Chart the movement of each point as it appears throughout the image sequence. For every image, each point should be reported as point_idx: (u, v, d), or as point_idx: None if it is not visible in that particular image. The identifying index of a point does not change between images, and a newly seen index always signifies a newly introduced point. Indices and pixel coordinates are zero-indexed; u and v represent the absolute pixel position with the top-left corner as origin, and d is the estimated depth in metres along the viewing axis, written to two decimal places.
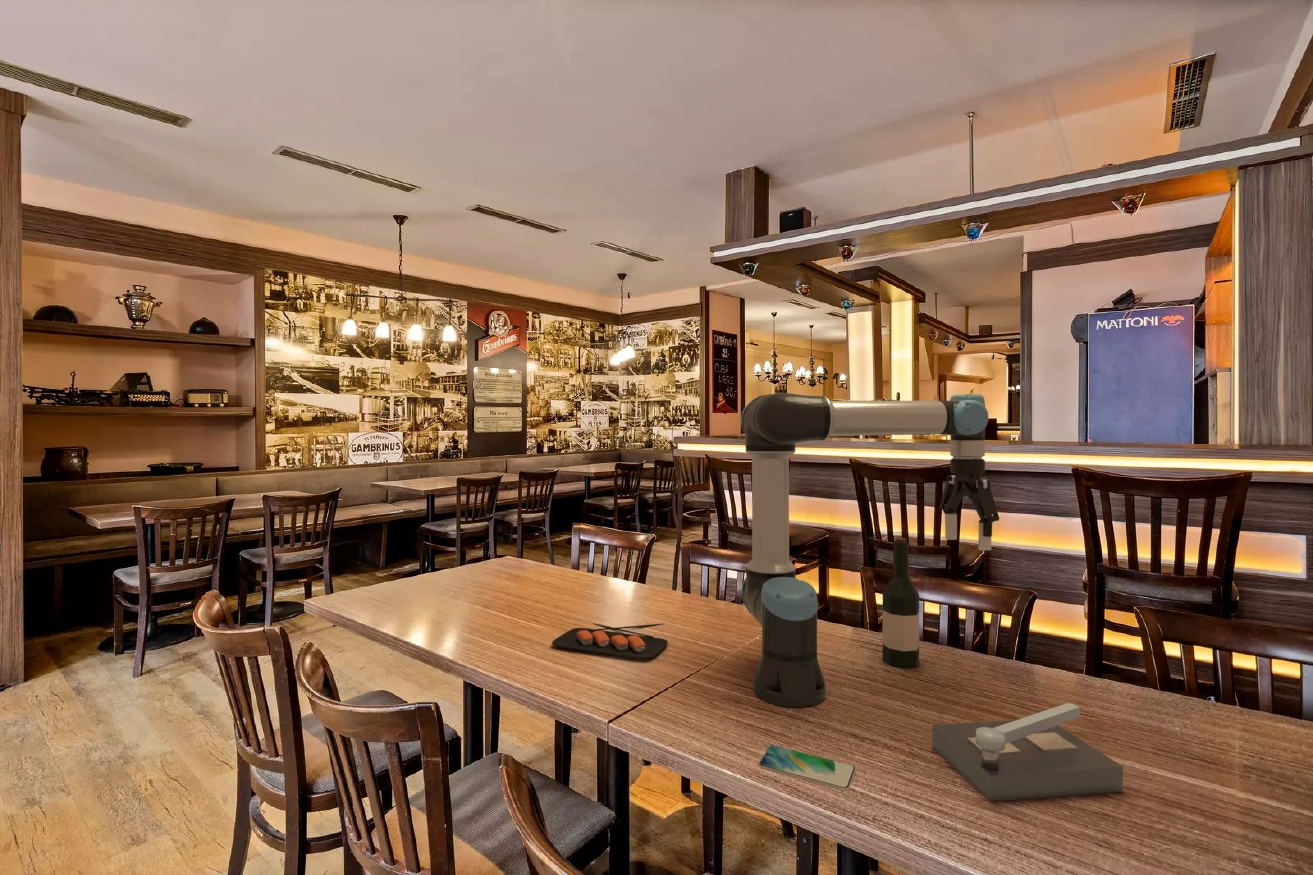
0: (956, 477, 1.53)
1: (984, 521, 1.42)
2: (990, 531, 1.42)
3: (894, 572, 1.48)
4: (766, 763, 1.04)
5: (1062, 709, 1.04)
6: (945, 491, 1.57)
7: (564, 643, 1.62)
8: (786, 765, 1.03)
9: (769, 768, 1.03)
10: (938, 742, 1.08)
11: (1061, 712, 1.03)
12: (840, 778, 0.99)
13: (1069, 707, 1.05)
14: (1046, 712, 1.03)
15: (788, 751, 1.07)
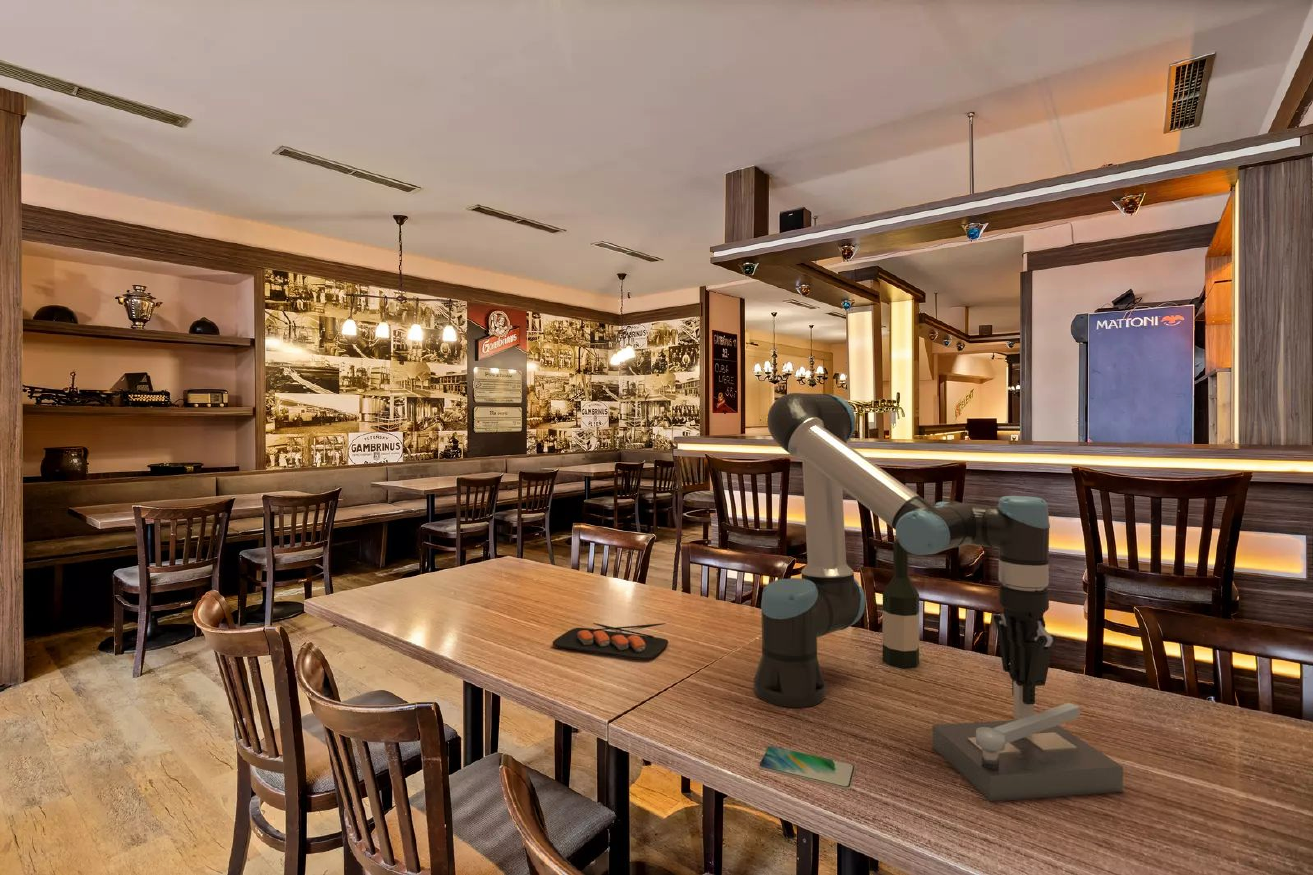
0: (1004, 608, 1.11)
1: (1023, 685, 1.06)
2: (1032, 697, 1.06)
3: (894, 572, 1.48)
4: (766, 764, 1.04)
5: (1062, 709, 1.04)
6: (1000, 639, 1.12)
7: (565, 643, 1.62)
8: (787, 766, 1.03)
9: (769, 769, 1.02)
10: (938, 742, 1.08)
11: (1061, 712, 1.03)
12: (841, 777, 1.00)
13: (1069, 707, 1.05)
14: (1046, 712, 1.03)
15: (787, 752, 1.07)
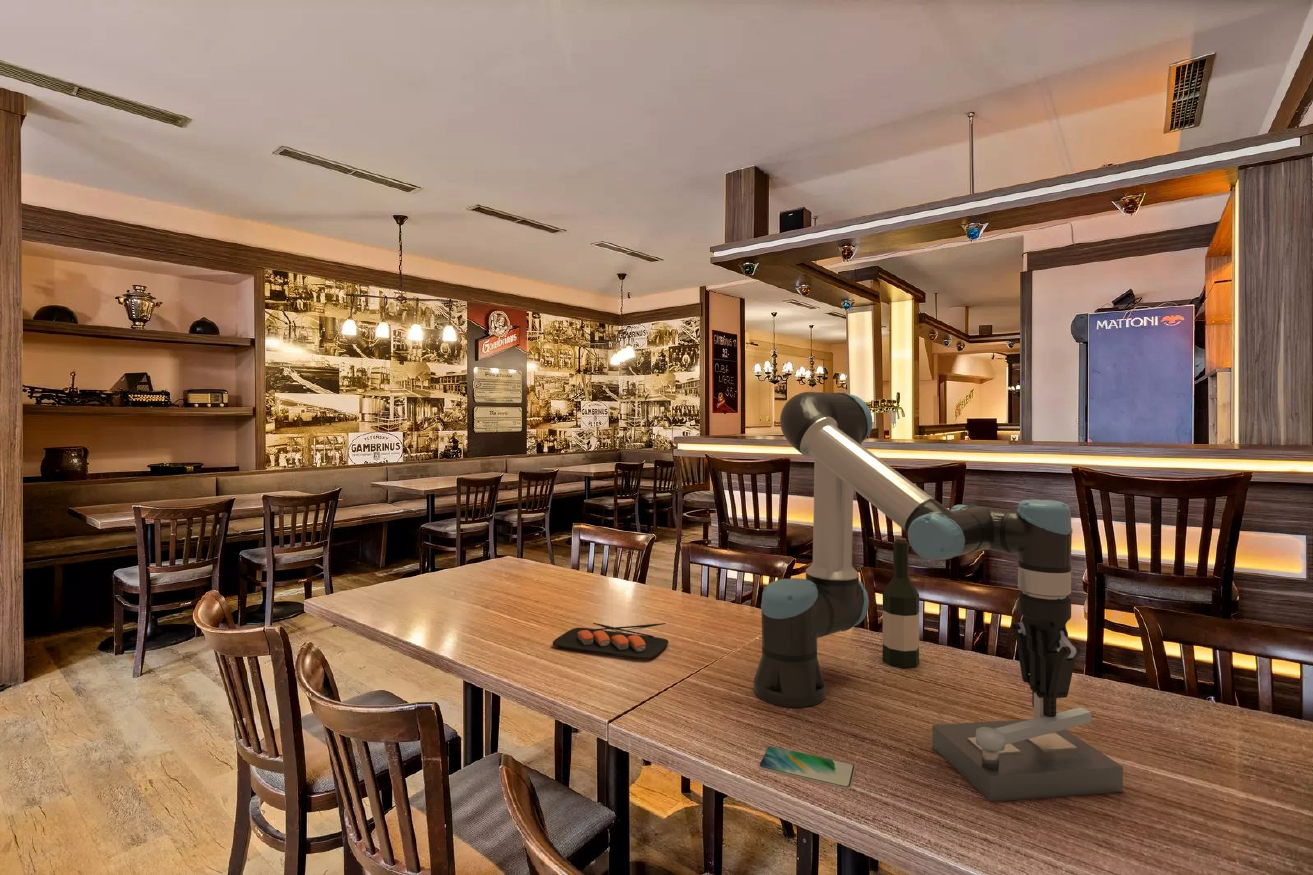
0: (1024, 616, 1.06)
1: (1044, 697, 1.02)
2: (1054, 709, 1.02)
3: (894, 572, 1.48)
4: (766, 764, 1.03)
5: (1072, 713, 1.03)
6: (1019, 649, 1.07)
7: (565, 643, 1.62)
8: (787, 766, 1.03)
9: (769, 769, 1.02)
10: (938, 742, 1.08)
11: (1070, 716, 1.02)
12: (841, 777, 1.00)
13: (1080, 712, 1.03)
14: None
15: (787, 752, 1.07)
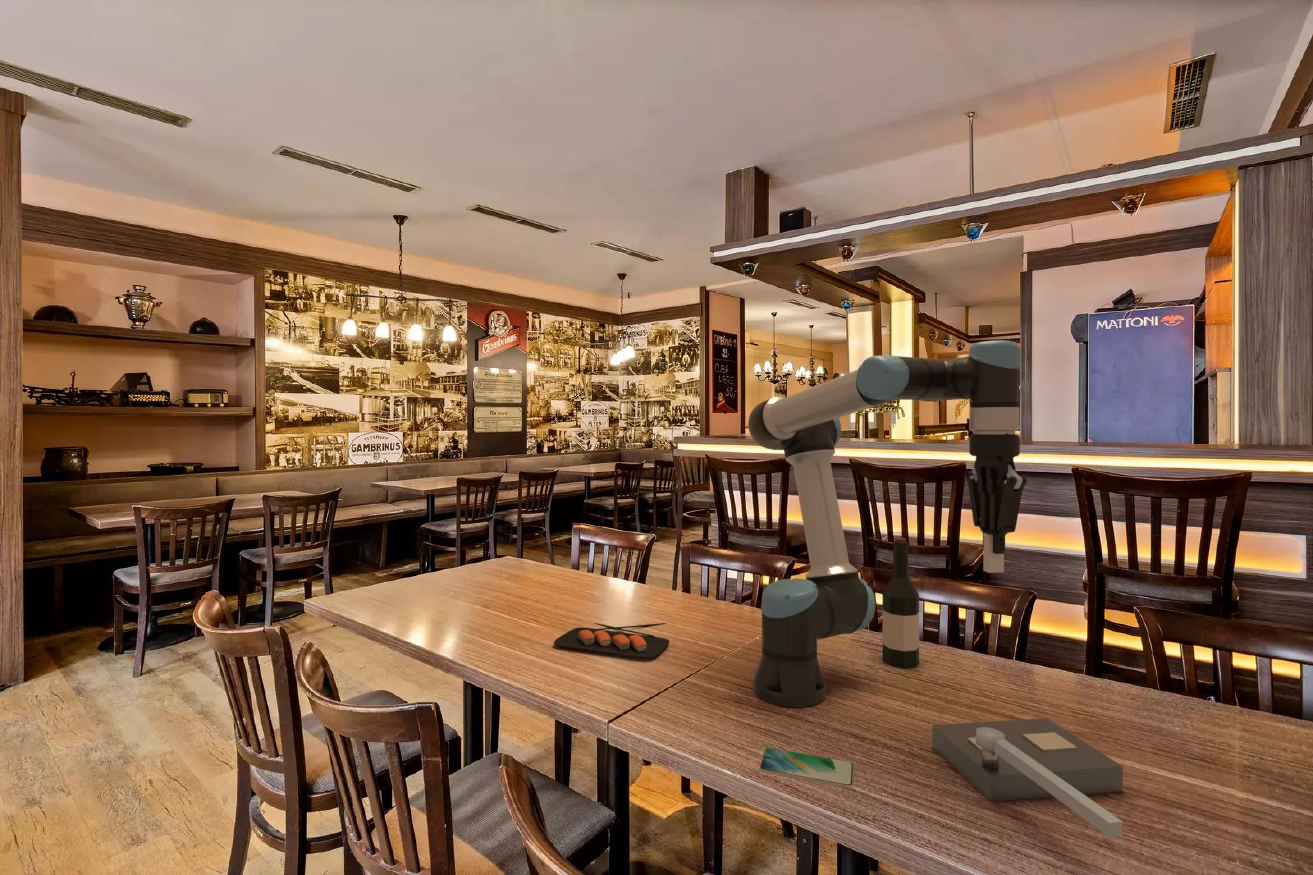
0: (975, 461, 1.08)
1: (993, 534, 1.03)
2: (1002, 546, 1.03)
3: (894, 571, 1.48)
4: (767, 766, 1.03)
5: (1089, 804, 0.78)
6: (971, 495, 1.09)
7: (566, 643, 1.62)
8: (787, 767, 1.03)
9: (770, 771, 1.02)
10: (938, 742, 1.08)
11: (1076, 798, 0.80)
12: (842, 776, 1.00)
13: (1101, 813, 0.77)
14: (1070, 787, 0.82)
15: (785, 753, 1.07)
